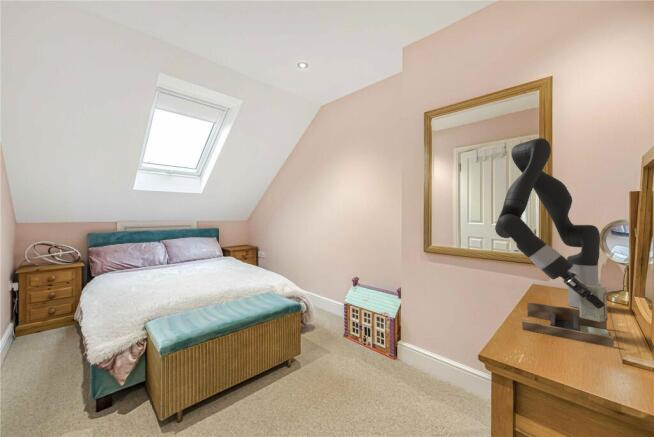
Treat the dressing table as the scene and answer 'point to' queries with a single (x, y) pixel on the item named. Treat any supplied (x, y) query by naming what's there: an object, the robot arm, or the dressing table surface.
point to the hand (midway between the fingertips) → (600, 304)
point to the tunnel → (567, 324)
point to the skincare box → (589, 309)
